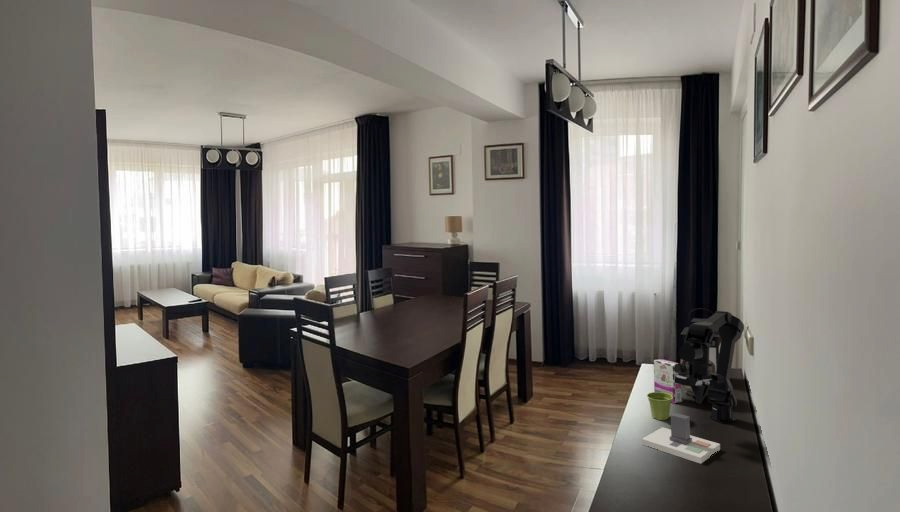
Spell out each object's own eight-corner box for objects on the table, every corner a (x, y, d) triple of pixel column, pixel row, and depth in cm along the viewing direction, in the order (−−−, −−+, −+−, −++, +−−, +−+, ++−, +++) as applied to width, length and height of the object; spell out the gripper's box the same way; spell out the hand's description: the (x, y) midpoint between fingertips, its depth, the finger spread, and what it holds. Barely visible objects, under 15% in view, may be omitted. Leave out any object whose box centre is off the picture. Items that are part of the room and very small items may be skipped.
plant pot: (676, 422, 189) (675, 400, 189) (650, 421, 191) (649, 399, 191) (670, 413, 198) (669, 392, 198) (645, 412, 200) (644, 391, 200)
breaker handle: (675, 435, 172) (675, 412, 172) (692, 440, 168) (691, 416, 168) (669, 439, 170) (668, 415, 169) (685, 444, 165) (685, 419, 165)
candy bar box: (683, 402, 210) (682, 363, 209) (674, 404, 208) (673, 365, 207) (662, 394, 220) (661, 358, 219) (654, 396, 218) (652, 359, 217)
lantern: (725, 376, 240) (724, 305, 238) (722, 387, 225) (721, 311, 223) (686, 372, 249) (684, 303, 247) (681, 382, 235) (679, 309, 233)
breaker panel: (662, 432, 181) (662, 426, 181) (720, 449, 165) (719, 443, 165) (642, 444, 172) (641, 438, 172) (700, 463, 157) (700, 457, 156)
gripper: (699, 354, 189) (697, 395, 188) (662, 356, 181) (661, 399, 181) (725, 359, 178) (724, 403, 178) (688, 362, 171) (687, 407, 171)
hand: (698, 403), depth 177 cm, fingers closed
